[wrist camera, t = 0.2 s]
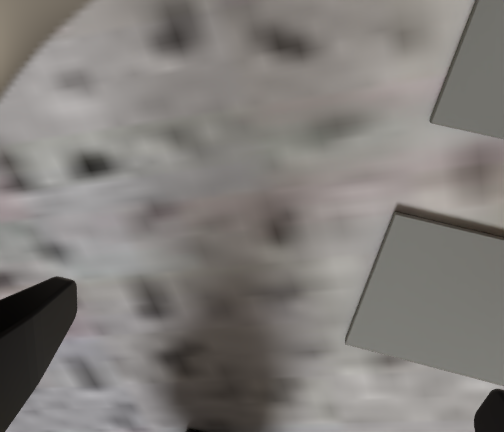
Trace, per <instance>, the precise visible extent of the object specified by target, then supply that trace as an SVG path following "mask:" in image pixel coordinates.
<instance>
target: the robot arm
mask: <svg viewBox="0 0 504 432" xmlns="http://www.w3.org/2000/svg"><path fill="white" fill-rule="evenodd" d="M76 313H77V286H76V283H75V281H73V280H71V279H67V278H63V277H53V278H51V279H48V280H46V281H43V282H41V283H39V284H36V285H34V286H32V287H29V288H27V289H25V290H22V291H20V292H18V293H15V294H13V295H11V296H8V297H6V298H4V299H1V300H0V432H5V431H6V429H7V428H8V427H9V425H10V424H11V422H12V421H13V419H14V418H15V417H16V415H17V414H18V412H19V411H20V409H21V408H22V407H23V405H24V404H25V402H26V401H27V399H28V398H29V397H30V395H31V394H32V392H33V391H34V389H35V388H36V386H37V385H38V383H39V382H40V380H41V378H42V377H43V375H44V373H45V371H46V370H47V368H48V366H49V364H50V362H51V361H52V359H53V357H54V355H55V353H56V352H57V350H58V348H59V346H60V344H61V343H62V341H63V339H64V337H65V335H66V334H67V332H68V330H69V328H70V326H71V325H72V323H73V321H74V319H75V316H76ZM474 428H475V432H504V390H501V389H494V390H492V391H491V392H490V393H489V395H488V396H487V398H486V399H485V400H484V402H483V403H482V405H481V406H480V407H479V409H478V410H477V412H476V414H475V418H474ZM186 432H198V431H195V430H187V431H186Z"/></svg>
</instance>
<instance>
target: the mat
mask: <svg viewBox="0 0 504 432" xmlns="http://www.w3.org/2000/svg"><path fill="white" fill-rule="evenodd" d="M430 122H431V123H432V124H437V125H441V126H446V127H450V128H455V129H460V130H464V131H469V132H473V133H478V134H482V135H487V136H491V137H496V138H500V139H504V0H476V2H475V5H474V7H473V10H472V12H471V15H470V18H469V20H468V23H467V25H466V28H465V31H464V33H463V36H462V38H461V41H460V44H459V46H458V49H457V51H456V54H455V56H454V59H453V62H452V64H451V67H450V69H449V72H448V75H447V77H446V80H445V82H444V85H443V88H442V90H441V93H440V95H439V98H438V101H437V103H436V106H435V108H434V111H433V113H432V116H431V119H430ZM345 344H346V345H350V346H353V347H357V348H361V349H365V350H369V351H372V352H376V353H380V354H384V355H388V356H391V357H395V358H399V359H403V360H407V361H410V362H414V363H418V364H422V365H426V366H429V367H433V368H437V369H441V370H445V371H448V372H452V373H456V374H460V375H464V376H467V377H471V378H475V379H479V380H483V381H486V382H490V383H494V384H498V385H502V386H504V237H500V236H496V235H491V234H487V233H483V232H479V231H475V230H470V229H466V228H462V227H458V226H453V225H449V224H445V223H441V222H437V221H432V220H428V219H424V218H420V217H416V216H411V215H407V214H403V213H399V212H394V215H393V217H392V220H391V222H390V225H389V228H388V230H387V233H386V235H385V238H384V241H383V243H382V246H381V248H380V251H379V253H378V256H377V259H376V261H375V264H374V266H373V269H372V272H371V274H370V277H369V279H368V282H367V285H366V287H365V290H364V292H363V295H362V298H361V300H360V303H359V305H358V308H357V311H356V313H355V316H354V318H353V321H352V323H351V326H350V329H349V331H348V334H347V336H346V339H345Z"/></svg>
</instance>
